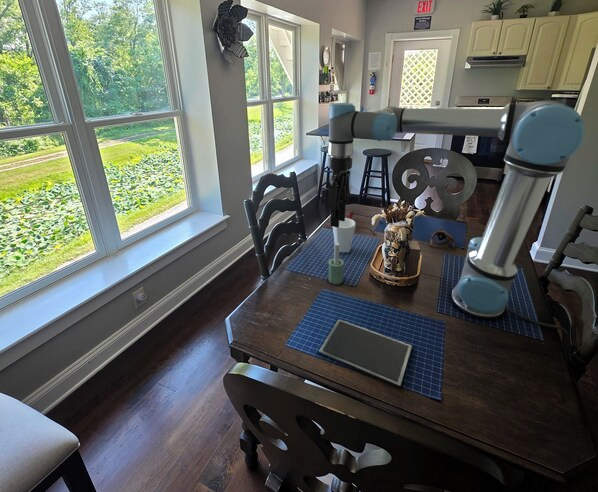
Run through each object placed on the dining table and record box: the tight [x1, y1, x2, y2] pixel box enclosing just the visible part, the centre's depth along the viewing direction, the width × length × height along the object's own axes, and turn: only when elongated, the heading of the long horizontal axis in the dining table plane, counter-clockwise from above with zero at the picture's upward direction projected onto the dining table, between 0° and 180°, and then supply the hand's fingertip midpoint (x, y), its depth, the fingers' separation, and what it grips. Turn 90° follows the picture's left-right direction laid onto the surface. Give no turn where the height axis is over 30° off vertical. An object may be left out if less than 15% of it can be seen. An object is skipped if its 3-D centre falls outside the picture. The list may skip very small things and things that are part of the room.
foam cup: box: [331, 217, 356, 254], centre depth 136 cm, size 10×9×13 cm
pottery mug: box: [430, 228, 456, 249], centre depth 140 cm, size 12×10×8 cm
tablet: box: [318, 318, 413, 389], centre depth 88 cm, size 22×14×1 cm, turn 61°
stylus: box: [333, 242, 340, 265], centre depth 115 cm, size 2×2×15 cm
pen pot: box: [327, 257, 345, 285], centre depth 117 cm, size 5×5×8 cm
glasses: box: [345, 211, 383, 236], centre depth 159 cm, size 14×16×5 cm
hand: (337, 223), depth 108 cm, fingers open, 5 cm apart
